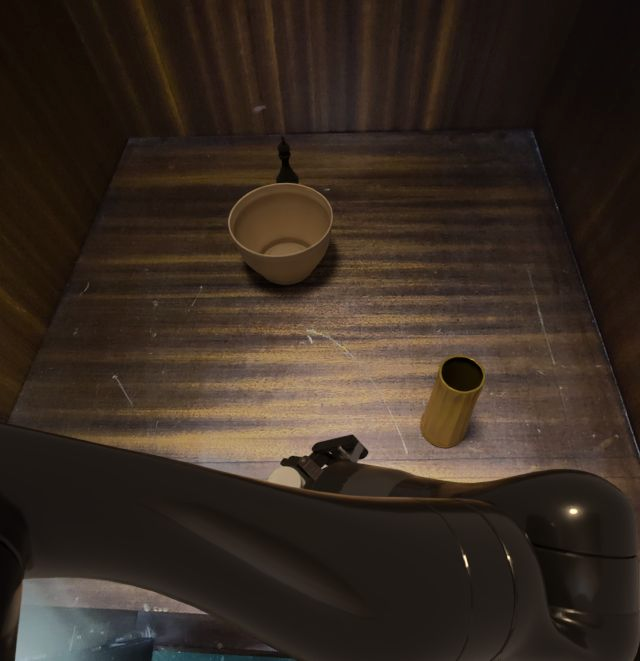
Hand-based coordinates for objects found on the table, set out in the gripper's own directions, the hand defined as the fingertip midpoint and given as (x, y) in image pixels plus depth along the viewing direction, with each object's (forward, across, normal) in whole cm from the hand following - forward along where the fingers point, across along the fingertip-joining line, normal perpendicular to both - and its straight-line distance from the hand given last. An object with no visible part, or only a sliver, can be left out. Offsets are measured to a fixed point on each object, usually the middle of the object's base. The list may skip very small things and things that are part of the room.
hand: (273, 485), depth 56 cm
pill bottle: (+2, 0, +4) cm, 5 cm away
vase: (-1, -21, +15) cm, 26 cm away
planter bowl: (+24, -34, -10) cm, 43 cm away
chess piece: (+32, -52, -19) cm, 64 cm away
